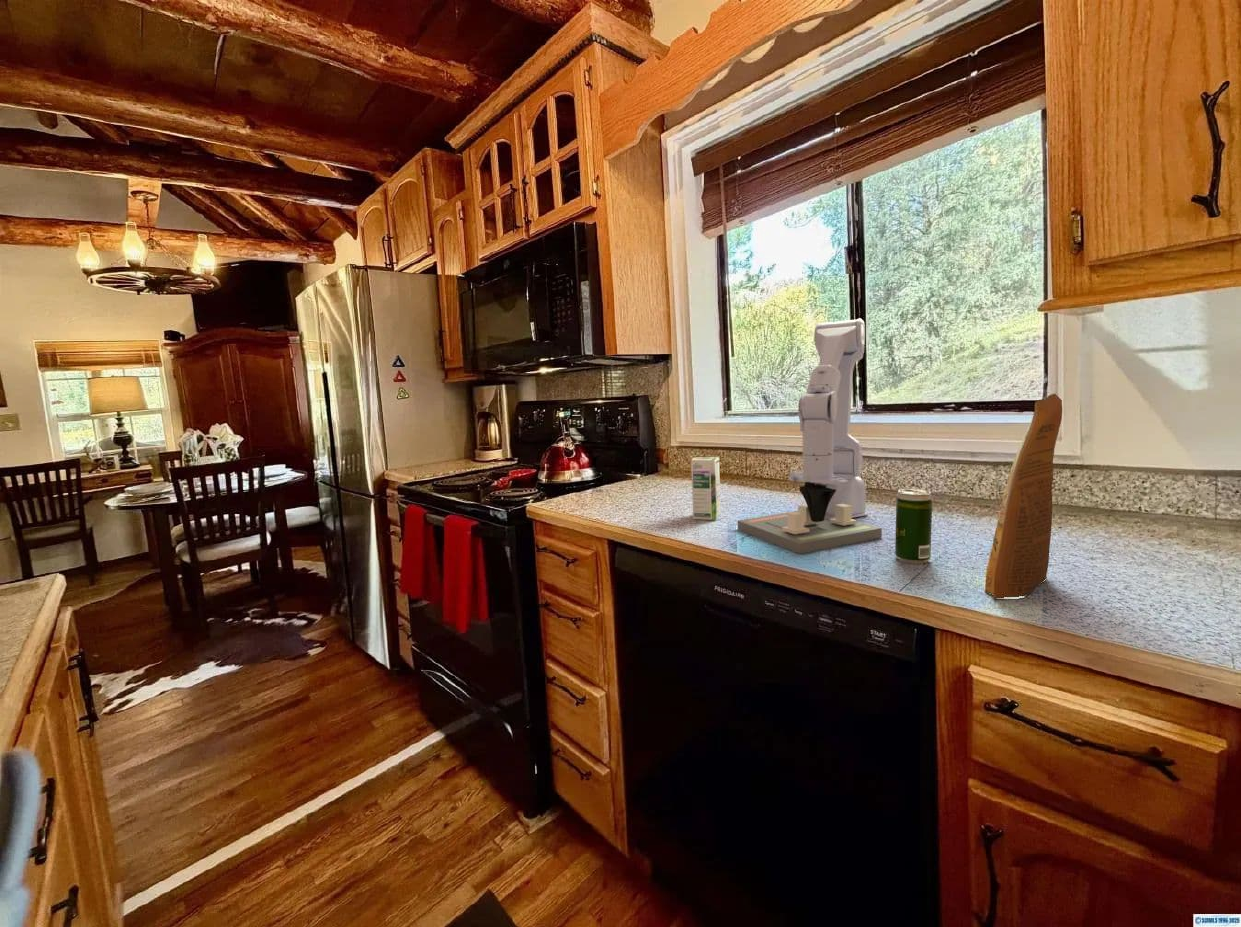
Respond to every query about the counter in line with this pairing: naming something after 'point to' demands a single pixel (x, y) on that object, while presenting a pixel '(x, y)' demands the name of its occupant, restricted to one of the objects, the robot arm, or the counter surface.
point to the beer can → (913, 526)
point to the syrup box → (705, 488)
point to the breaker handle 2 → (843, 515)
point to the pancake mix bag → (1026, 509)
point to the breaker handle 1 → (795, 523)
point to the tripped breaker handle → (806, 514)
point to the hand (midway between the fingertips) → (817, 520)
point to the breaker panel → (808, 533)
